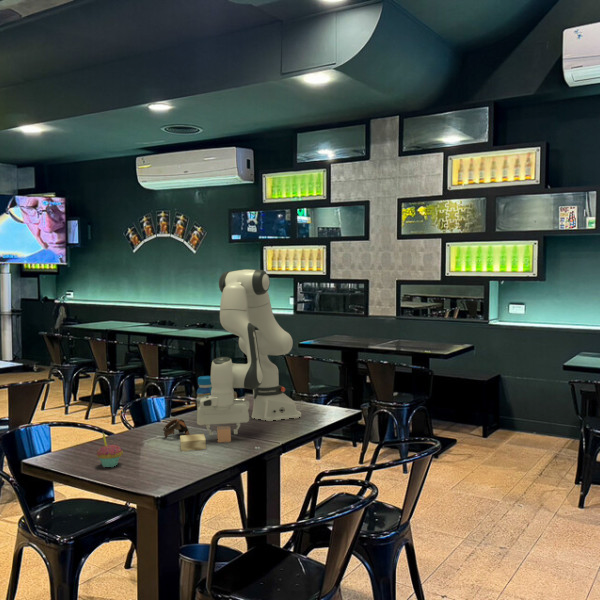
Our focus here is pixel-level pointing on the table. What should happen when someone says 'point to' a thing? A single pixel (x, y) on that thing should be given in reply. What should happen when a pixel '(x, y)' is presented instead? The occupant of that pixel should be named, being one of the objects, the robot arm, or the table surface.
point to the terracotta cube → (224, 434)
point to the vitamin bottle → (203, 388)
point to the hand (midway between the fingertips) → (223, 434)
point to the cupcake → (109, 454)
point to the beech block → (192, 442)
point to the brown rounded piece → (175, 427)
